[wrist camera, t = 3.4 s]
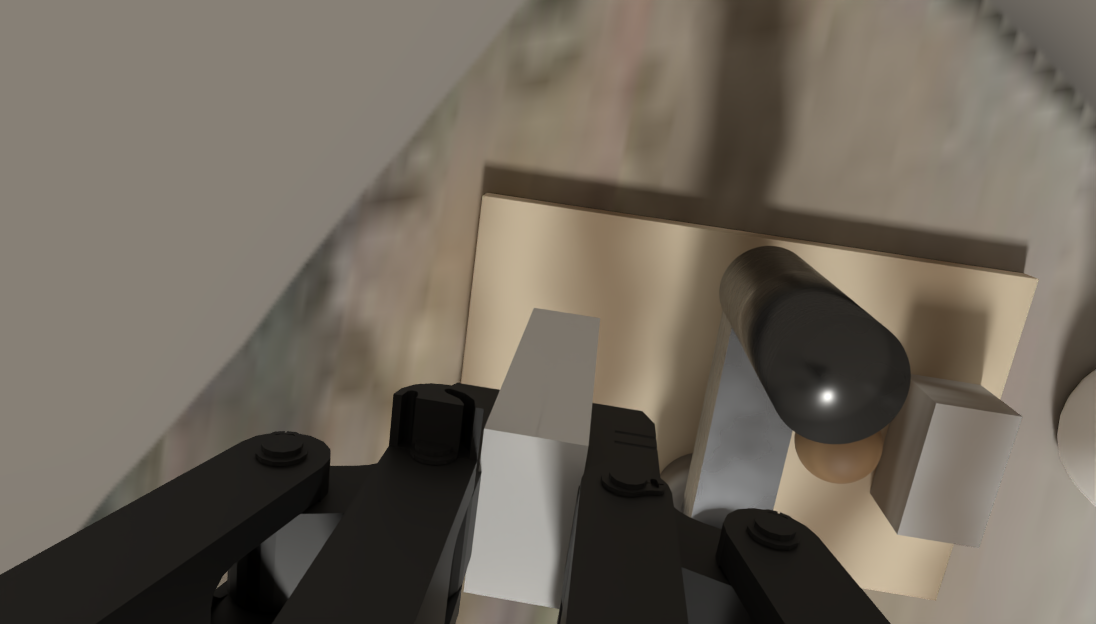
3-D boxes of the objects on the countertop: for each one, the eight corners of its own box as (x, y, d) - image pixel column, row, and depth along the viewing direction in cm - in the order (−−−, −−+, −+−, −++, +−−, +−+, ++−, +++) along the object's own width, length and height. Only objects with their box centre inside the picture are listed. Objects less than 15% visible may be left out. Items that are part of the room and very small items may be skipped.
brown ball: (778, 454, 36) (796, 491, 32) (796, 381, 35) (816, 412, 31) (856, 466, 36) (882, 505, 32) (876, 394, 35) (905, 427, 31)
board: (450, 505, 39) (428, 559, 34) (486, 192, 35) (467, 206, 30) (925, 585, 38) (968, 651, 34) (1024, 273, 34) (1089, 300, 29)
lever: (656, 529, 37) (680, 762, 24) (717, 225, 33) (786, 304, 20) (742, 544, 37) (813, 786, 24) (813, 239, 33) (946, 330, 20)
